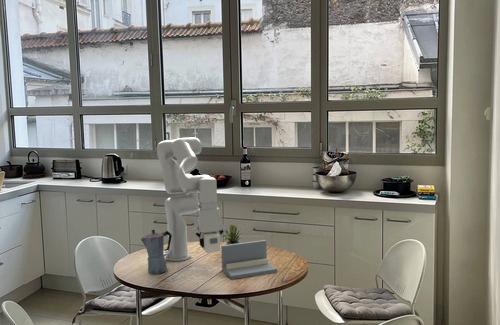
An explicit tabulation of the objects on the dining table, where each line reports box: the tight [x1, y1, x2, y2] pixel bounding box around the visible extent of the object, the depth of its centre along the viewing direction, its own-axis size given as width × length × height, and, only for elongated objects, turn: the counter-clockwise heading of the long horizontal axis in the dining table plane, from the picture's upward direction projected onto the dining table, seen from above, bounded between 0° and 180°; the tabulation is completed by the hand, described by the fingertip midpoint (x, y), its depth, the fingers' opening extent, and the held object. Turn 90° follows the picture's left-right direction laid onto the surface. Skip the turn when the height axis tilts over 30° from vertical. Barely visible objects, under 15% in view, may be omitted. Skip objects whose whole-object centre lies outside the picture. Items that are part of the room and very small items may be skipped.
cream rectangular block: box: [198, 231, 221, 254], centre depth 206 cm, size 6×13×7 cm, turn 20°
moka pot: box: [140, 229, 172, 275], centre depth 220 cm, size 10×15×20 cm, turn 130°
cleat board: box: [220, 239, 278, 280], centre depth 217 cm, size 22×14×12 cm, turn 110°
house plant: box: [221, 222, 244, 245], centre depth 244 cm, size 14×14×16 cm
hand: (209, 245), depth 207 cm, fingers closed on cream rectangular block, 6 cm apart
